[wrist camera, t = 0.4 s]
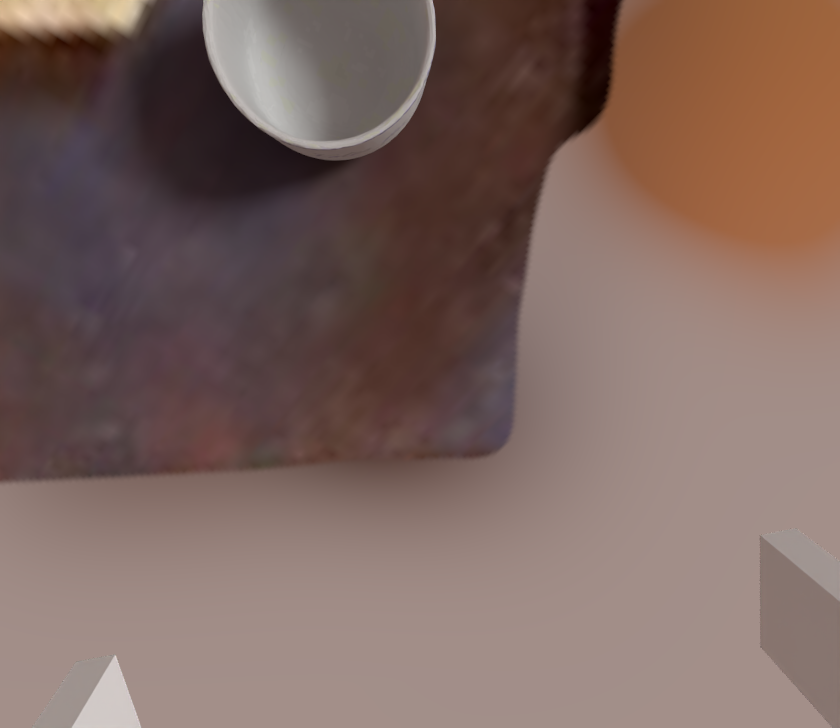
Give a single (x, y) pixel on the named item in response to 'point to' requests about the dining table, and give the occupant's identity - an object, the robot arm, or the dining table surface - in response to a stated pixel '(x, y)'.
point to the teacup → (323, 68)
